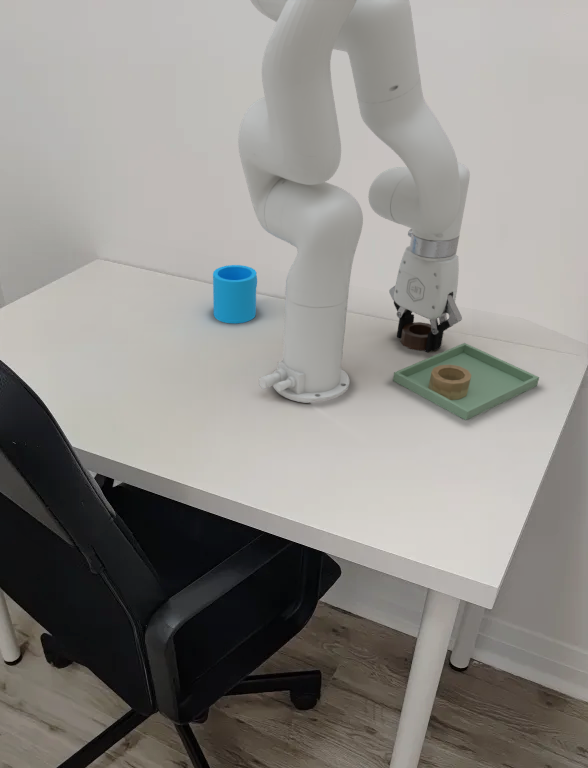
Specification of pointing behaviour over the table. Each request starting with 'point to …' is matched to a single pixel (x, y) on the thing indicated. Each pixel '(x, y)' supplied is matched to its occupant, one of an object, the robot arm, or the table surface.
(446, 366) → the birch ring
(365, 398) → the table surface
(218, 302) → the mug
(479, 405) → the tray
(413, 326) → the walnut ring
